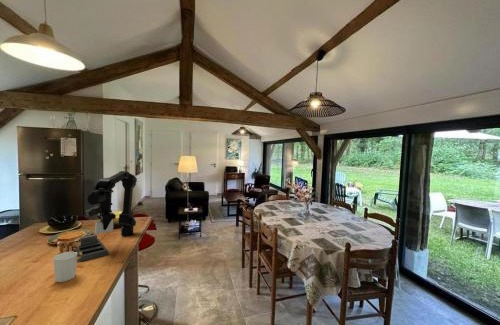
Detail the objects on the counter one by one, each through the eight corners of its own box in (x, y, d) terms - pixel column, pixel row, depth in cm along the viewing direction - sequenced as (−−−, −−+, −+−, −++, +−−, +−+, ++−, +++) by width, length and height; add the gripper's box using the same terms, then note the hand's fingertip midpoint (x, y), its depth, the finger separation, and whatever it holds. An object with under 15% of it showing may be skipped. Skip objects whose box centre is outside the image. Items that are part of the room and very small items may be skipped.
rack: (100, 242, 134) (101, 231, 134) (110, 254, 119) (110, 242, 119) (71, 248, 124) (71, 237, 124) (77, 262, 109) (78, 249, 109)
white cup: (49, 279, 94) (50, 256, 94) (71, 271, 101) (71, 250, 101) (58, 285, 91) (59, 261, 90) (80, 276, 98) (80, 254, 97)
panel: (111, 229, 127) (112, 219, 127) (113, 231, 125) (113, 220, 125) (95, 232, 121) (95, 221, 121) (96, 234, 119) (96, 223, 119)
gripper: (84, 200, 123) (83, 228, 123) (91, 205, 110) (90, 236, 110) (107, 198, 131) (106, 224, 131) (116, 203, 118) (115, 232, 119)
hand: (104, 229), depth 123 cm, fingers closed on panel, 2 cm apart
